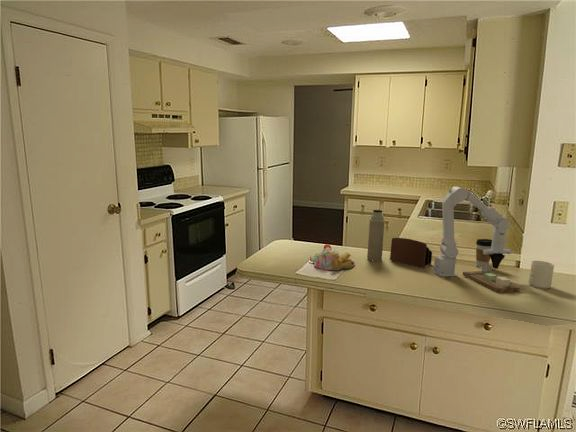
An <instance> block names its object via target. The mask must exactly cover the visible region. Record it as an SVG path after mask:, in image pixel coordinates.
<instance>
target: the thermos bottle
mask: <svg viewBox="0 0 576 432" xmlns="http://www.w3.org/2000/svg"><path fill="white" fill-rule="evenodd" d="M372 211H373V213H372V215H371V216H370V217H371V218H370V219H369V224H368V225H369V228H368V240H367V241H368V243H367V256H366V259H367V258H368V259H370V260H373V261H372V262H381V261H382V259H383V247H384V245H383V244H384V236H385V235H384V234H385V223H386V222H385V220H384V215H383V210H381V209H373V210H372ZM368 259H367V260H368ZM370 260H369V261H370Z"/></svg>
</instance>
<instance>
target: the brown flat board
mask: <svg viewBox="0 0 576 432" xmlns="http://www.w3.org/2000/svg"><path fill="white" fill-rule="evenodd" d="M484 274H485V273H483V272H481V270H478V271H477V270H476V271H473V270H472V271H471V270H470V271H463V272H462V276H463V275H464V276H466V277H468V278H470V279H471V281H472V280H473V282H474V281H475V283H476V282H477V283H476V284H479V285H480V284H481V285H480V286H482V287H484V288H486V289H488V290H490V291H492V292H494V293H496V294H497V293H498V294H499V293H520V292H521V287H520V286H518V285H516V284H513V283H512V282H510V286H509V287H501V286H499V285H497V284H495V283H496V281H488V280H486V279H484ZM464 276H463V277H464ZM466 277H465V278H466ZM468 278H467V279H468ZM470 279H469V280H470Z"/></svg>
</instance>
